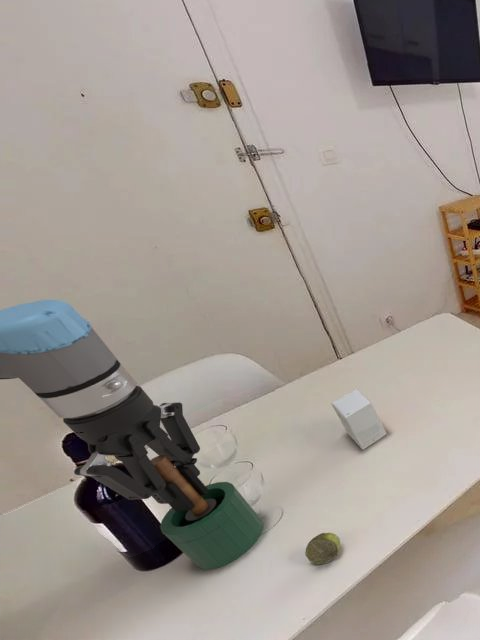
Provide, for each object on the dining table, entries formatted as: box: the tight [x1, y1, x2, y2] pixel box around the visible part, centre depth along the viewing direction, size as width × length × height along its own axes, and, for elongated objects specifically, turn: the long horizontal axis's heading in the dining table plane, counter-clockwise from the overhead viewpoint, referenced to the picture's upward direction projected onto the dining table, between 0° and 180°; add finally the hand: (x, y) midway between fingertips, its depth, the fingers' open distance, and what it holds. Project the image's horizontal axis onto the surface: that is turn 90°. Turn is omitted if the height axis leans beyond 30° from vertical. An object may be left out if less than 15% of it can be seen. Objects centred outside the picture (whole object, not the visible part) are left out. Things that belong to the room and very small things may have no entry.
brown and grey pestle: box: [150, 455, 220, 524], centre depth 69 cm, size 4×4×18 cm
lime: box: [304, 532, 341, 565], centre depth 72 cm, size 4×5×5 cm
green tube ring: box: [159, 481, 264, 571], centre depth 73 cm, size 9×9×11 cm
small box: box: [330, 389, 388, 451], centre depth 95 cm, size 8×6×10 cm
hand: (192, 500), depth 70 cm, fingers closed on brown and grey pestle, 2 cm apart
